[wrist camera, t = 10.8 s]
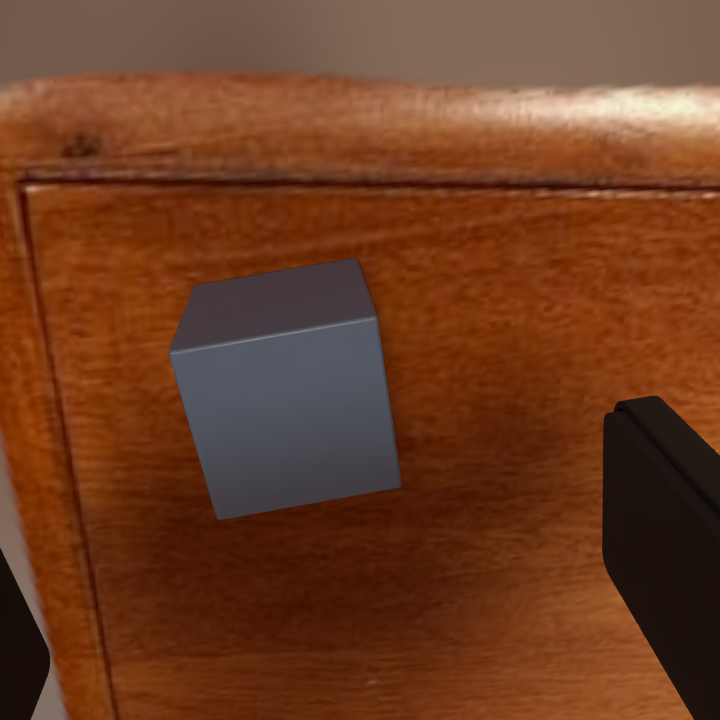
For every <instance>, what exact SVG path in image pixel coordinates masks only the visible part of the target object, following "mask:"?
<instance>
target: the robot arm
mask: <svg viewBox="0 0 720 720" xmlns="http://www.w3.org/2000/svg"><path fill="white" fill-rule="evenodd" d="M602 553H603V559H604V563H605V567H606V569H607V572H608V574H609V576H610V578H611V580H612V581H613V583H614V585H615V586H616V588H617V590H618V591H619V593H620V595H621V597H622V598H623V600H624V602H625V603H626V605H627V607H628V608H629V610H630V612H631V613H632V615H633V617H634V619H635V620H636V622H637V624H638V625H639V627H640V629H641V630H642V632H643V634H644V636H645V637H646V639H647V641H648V642H649V644H650V646H651V647H652V649H653V651H654V652H655V654H656V656H657V658H658V659H659V661H660V663H661V664H662V666H663V668H664V669H665V671H666V673H667V675H668V676H669V678H670V680H671V681H672V683H673V685H674V686H675V688H676V690H677V692H678V693H679V695H680V697H681V698H682V700H683V702H684V703H685V705H686V707H687V708H688V710H689V712H690V714H691V715H692V717H693V719H694V720H720V455H719V454H718V453H717V452H716V451H715V450H714V449H712V448H711V447H710V446H709V445H708V444H707V443H706V442H705V441H704V440H703V439H702V438H701V437H700V436H699V435H698V434H697V433H696V432H695V431H694V430H693V429H692V428H691V427H690V426H689V425H688V424H687V423H686V422H685V421H684V420H683V419H682V418H681V417H680V416H679V415H678V414H677V413H676V412H675V411H673V410H672V409H671V408H670V407H669V406H668V405H667V404H666V403H665V402H664V401H663V400H662V399H661V398H660V397H658V396H649V397H643V398H637V399H631V400H625V401H619V402H618V403H617V404H616V405H615V408H614V412H612V413H607V414H606V415H605V417H604V431H603V528H602ZM49 668H50V654H49V650H48V647H47V645H46V643H45V641H44V639H43V636H42V634H41V632H40V630H39V628H38V626H37V624H36V622H35V620H34V618H33V616H32V613H31V611H30V609H29V607H28V605H27V603H26V601H25V599H24V597H23V595H22V593H21V591H20V588H19V586H18V584H17V582H16V580H15V578H14V576H13V574H12V571H11V570H10V567H9V565H8V563H7V561H6V559H5V557H4V555H3V553H2V551H1V548H0V720H31V717H32V715H33V712H34V710H35V707H36V705H37V702H38V699H39V697H40V694H41V692H42V689H43V686H44V684H45V681H46V679H47V676H48V673H49Z"/></svg>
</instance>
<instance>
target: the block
mask: <svg viewBox="0 0 720 720" xmlns="http://www.w3.org/2000/svg"><path fill="white" fill-rule="evenodd" d="M168 355H169V358H170V361H171V365H172V368H173V372H174V375H175V378H176V382H177V385H178V389H179V392H180V395H181V399H182V402H183V406H184V409H185V412H186V416H187V419H188V423H189V426H190V429H191V433H192V436H193V440H194V443H195V447H196V450H197V453H198V457H199V460H200V464H201V467H202V470H203V474H204V477H205V481H206V484H207V487H208V491H209V494H210V498H211V501H212V504H213V508H214V511H215V515H216V517H217V519H218V520H223V519H229V518H234V517H240V516H245V515H251V514H256V513H262V512H267V511H273V510H278V509H284V508H289V507H295V506H300V505H306V504H311V503H317V502H323V501H328V500H334V499H339V498H345V497H350V496H356V495H361V494H367V493H372V492H378V491H383V490H389V489H394V488H399V487H401V484H402V482H401V475H400V468H399V461H398V454H397V448H396V441H395V434H394V427H393V420H392V413H391V406H390V399H389V392H388V385H387V378H386V372H385V365H384V358H383V351H382V344H381V337H380V330H379V323H378V317H377V314H376V311H375V309H374V306H373V303H372V300H371V297H370V294H369V291H368V288H367V285H366V282H365V279H364V276H363V273H362V270H361V267H360V265H359V262H358V260H357V258H351V259H345V260H339V261H333V262H328V263H322V264H316V265H310V266H304V267H298V268H293V269H287V270H281V271H275V272H269V273H263V274H257V275H252V276H246V277H240V278H234V279H228V280H222V281H216V282H211V283H205V284H199V285H195V286H193V289H192V292H191V294H190V297H189V300H188V302H187V305H186V308H185V310H184V313H183V316H182V318H181V321H180V324H179V326H178V329H177V331H176V334H175V337H174V339H173V342H172V345H171V347H170V350H169V354H168Z"/></svg>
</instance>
